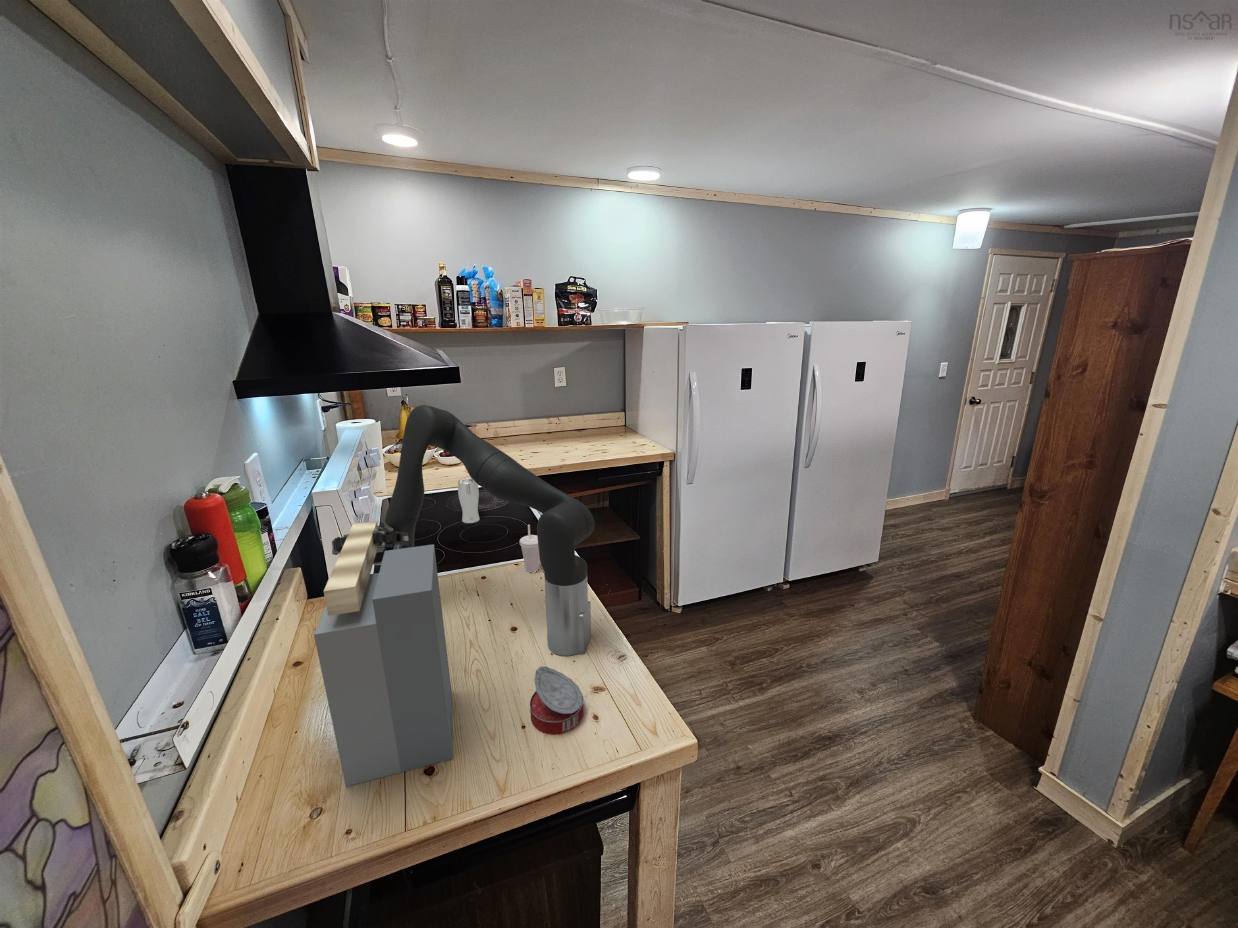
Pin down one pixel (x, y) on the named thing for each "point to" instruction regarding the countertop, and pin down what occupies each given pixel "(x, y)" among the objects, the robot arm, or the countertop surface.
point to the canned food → (555, 702)
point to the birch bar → (351, 570)
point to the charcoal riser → (389, 671)
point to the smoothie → (530, 551)
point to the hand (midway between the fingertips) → (360, 538)
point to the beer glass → (469, 499)
